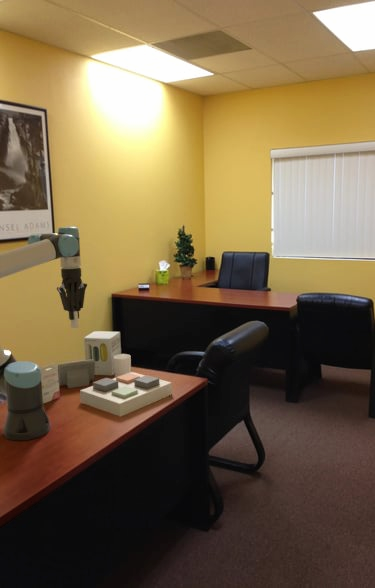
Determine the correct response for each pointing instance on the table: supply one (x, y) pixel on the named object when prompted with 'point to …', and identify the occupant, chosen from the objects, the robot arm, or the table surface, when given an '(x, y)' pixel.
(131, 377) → the key terracotta
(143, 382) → the charcoal key
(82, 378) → the digital clock
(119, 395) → the key green
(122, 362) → the white cup
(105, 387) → the charcoal key
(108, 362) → the supplement box
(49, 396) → the ink cartridge box
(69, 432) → the table surface
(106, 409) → the keypad
